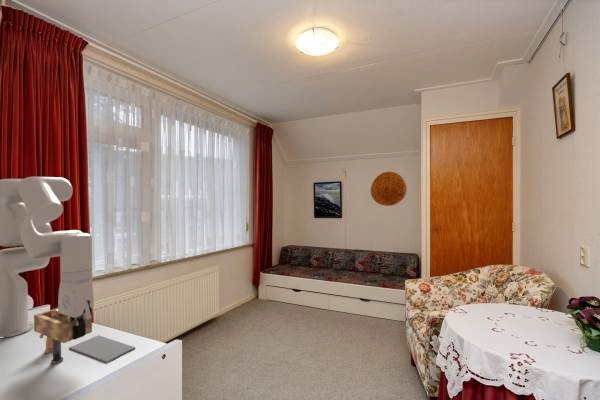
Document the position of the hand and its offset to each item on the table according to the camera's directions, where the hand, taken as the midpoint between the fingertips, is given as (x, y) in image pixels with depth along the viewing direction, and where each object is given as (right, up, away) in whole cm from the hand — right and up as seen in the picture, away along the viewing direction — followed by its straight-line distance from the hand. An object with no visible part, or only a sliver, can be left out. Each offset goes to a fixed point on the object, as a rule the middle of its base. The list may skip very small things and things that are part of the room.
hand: (77, 336), depth 90 cm
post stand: (-10, -10, +5) cm, 15 cm away
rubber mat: (-1, -10, +13) cm, 16 cm away
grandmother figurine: (-17, -10, +13) cm, 23 cm away
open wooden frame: (-7, 0, +3) cm, 7 cm away
